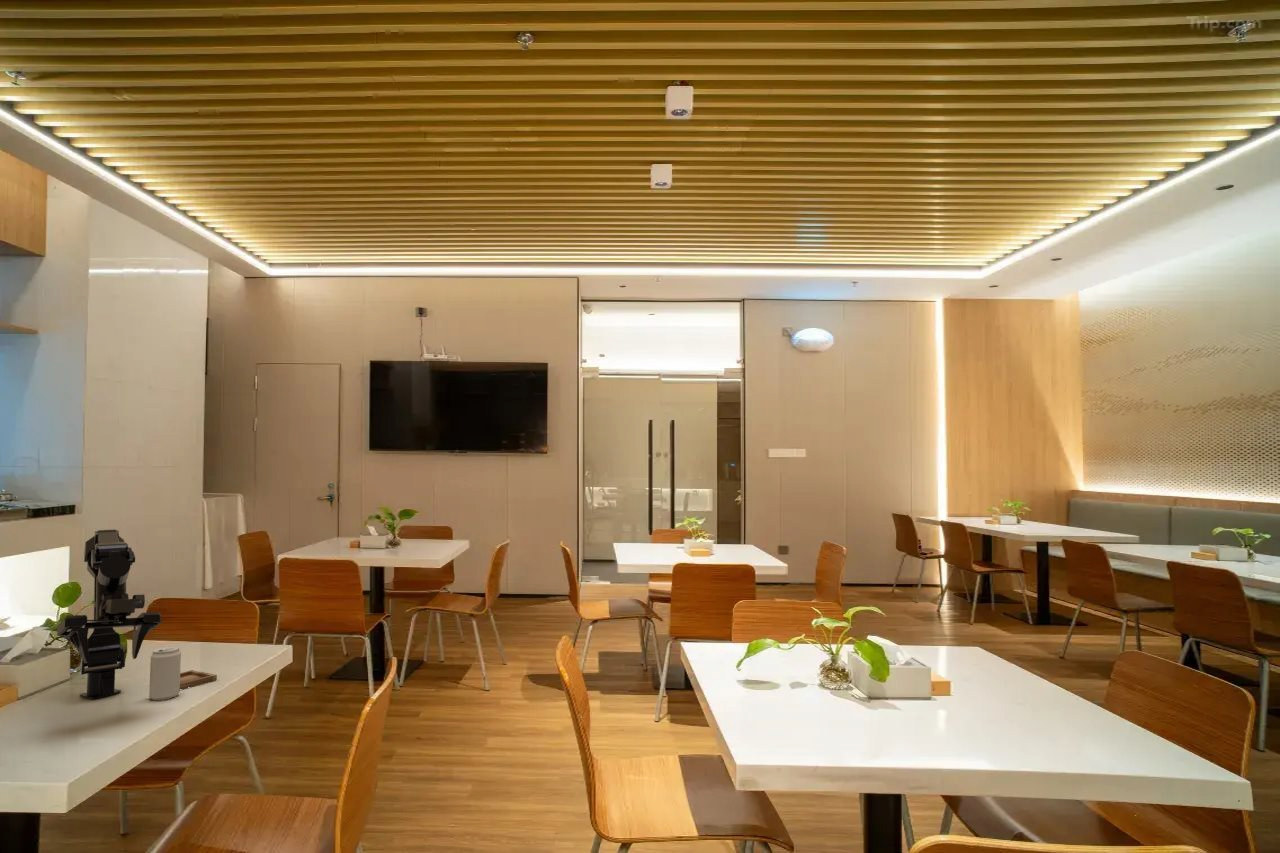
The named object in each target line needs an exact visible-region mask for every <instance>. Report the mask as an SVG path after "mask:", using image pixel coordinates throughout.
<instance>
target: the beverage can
mask: <svg viewBox="0 0 1280 853" xmlns="http://www.w3.org/2000/svg"><path fill="white" fill-rule="evenodd" d="M181 661H182V651H180V647H179V646H167V647H165V646H164V647H159V648H156V649H153V650H152V654H151V655H150V663H149V664H150V665H149V666H150V668H149V670H150V671H149V688H148V689H149V692H148V693H149V694H148V697H149V698H150V699H151V700H152V701H156V700H158V701H166V699H167V700H169V699H170V698H171V699H173V698H172V697H174V698H175V697H177V696H178V695H179V694H180V692H181V690H180V673H181V667H182V666H181V663H182V662H181Z"/></svg>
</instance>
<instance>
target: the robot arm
mask: <svg viewBox="0 0 1280 853" xmlns="http://www.w3.org/2000/svg"><path fill="white" fill-rule="evenodd" d="M119 532H120V531H119V530H118V529H117V530H116V529H99V530H95V531H94V535H93V536H92V537H91V538H90V539H89V538H88V540H86V541H85V543H84V552H83V562H84V563H86V570H87V572H88V573H89V575H90V576H91V577H93V615H92V616H93V619H88V616H87V615H85V614H81V615H78V614H77V615H67V616H66V617H64V618H63V620H61V622H59V624H58V625H57V628H56V631H57V632H56V636H57V637H64V640H69V641H70V643H71V644H72V645H73V647H74V648H75V649H76V651H77V652H78V654H79V655H80V658H81V659H80V675H81V676H82V675H86V678H87V679H86V692H85V693H80V694H79V697H81V698H85V699H90V700H96V699H101V698H104V697H109V696H112V695H116V694H120V693H122V690H120V689H116V686H115V685H116V670H122V669H124V668H125V667H126V658H127V657H126V656H127V649H125V647H124V645H123V644H121V635H120V634H119V633H118V632H117V631H116V630H115V629H114V628H125V627H128V628H129V627H133V629H134V630H135V631H133V632H132V633H131V634H132V641H131V647H132V648H131V655H132V659H133V660H135V659H137V658H138V654H139V652H140V650H141V647H142V644H143V642H144V639H145V637H146V635H147V634H149V633H150V632H151V631H153V630H154V629H156V628H157V627H158V626H159V625H161V624H162V621H163V620H162V619H163V618H162V615H161V613H160V612H158V611H152V612H151V611H150V612H141V613H140V614H139V615H138V616H137V617H129V616H131V615H132V614H135V612H136V609H144V608H145V604H146V600H145V599H146V596H145V594H133V595H132V598H129V593H127V580H128V577H129V574H130V570H131V566H133V563H136V556H135V555H136V554H135V552H134V551H133V549H132V547H131V546H130V547H129V544H128V543H127V542H126V541H125V539H124V538H123V537H121V536H120V533H119ZM89 629H91V630H92V633H90V636H89V637H88V635H89Z"/></svg>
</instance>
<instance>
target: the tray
mask: <svg viewBox="0 0 1280 853" xmlns="http://www.w3.org/2000/svg"><path fill="white" fill-rule="evenodd" d="M217 677H218V675H217V674H214V673H208V672H204V671H199V670H194V669H192V670H191V669H190V670H187V671H183V672H180V689H183V690H185V689H184V688H187V689H189V688H188V687H191V688H194V687H198V686H201V684H202V685H205V683H206V684H209V683H213V682H216V680H218V678H217ZM212 681H213V682H212ZM208 682H209V683H208ZM197 685H198V686H197ZM193 686H194V687H193Z"/></svg>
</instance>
